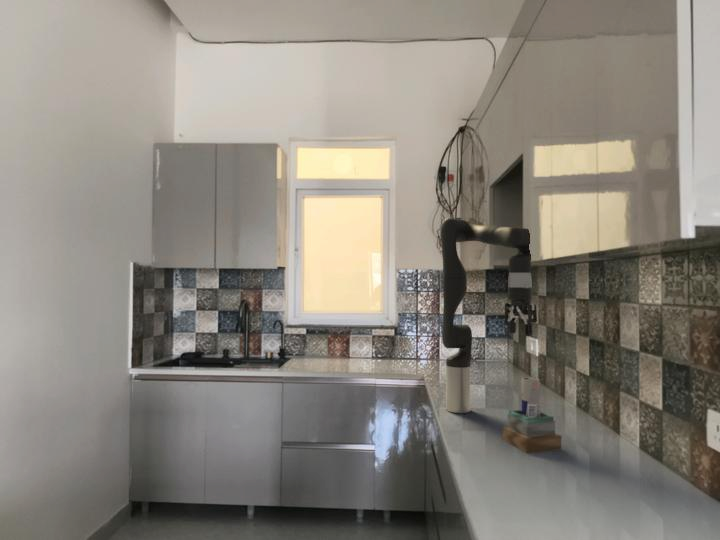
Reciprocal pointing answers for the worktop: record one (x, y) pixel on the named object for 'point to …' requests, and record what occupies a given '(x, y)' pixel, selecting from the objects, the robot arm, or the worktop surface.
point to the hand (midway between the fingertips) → (520, 334)
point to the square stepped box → (531, 432)
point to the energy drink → (530, 397)
